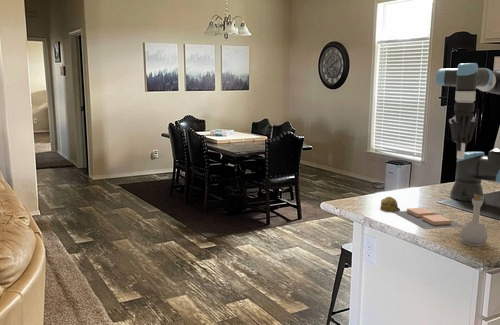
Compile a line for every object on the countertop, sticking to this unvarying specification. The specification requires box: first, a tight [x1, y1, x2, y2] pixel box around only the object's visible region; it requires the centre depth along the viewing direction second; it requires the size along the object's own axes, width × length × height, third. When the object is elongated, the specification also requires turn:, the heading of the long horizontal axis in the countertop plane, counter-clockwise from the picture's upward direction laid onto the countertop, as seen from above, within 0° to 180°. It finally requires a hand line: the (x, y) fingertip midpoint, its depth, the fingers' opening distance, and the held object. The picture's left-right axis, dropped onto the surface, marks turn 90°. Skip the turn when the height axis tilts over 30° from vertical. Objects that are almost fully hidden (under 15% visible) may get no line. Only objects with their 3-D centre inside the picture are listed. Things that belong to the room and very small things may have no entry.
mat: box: [392, 210, 464, 230], centre depth 192 cm, size 18×24×1 cm
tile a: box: [406, 207, 436, 217], centre depth 198 cm, size 2×8×8 cm
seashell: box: [380, 196, 401, 213], centre depth 206 cm, size 10×7×8 cm
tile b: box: [422, 214, 453, 225], centre depth 187 cm, size 2×8×8 cm
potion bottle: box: [459, 194, 488, 247], centre depth 164 cm, size 9×9×18 cm
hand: (460, 158), depth 195 cm, fingers closed
